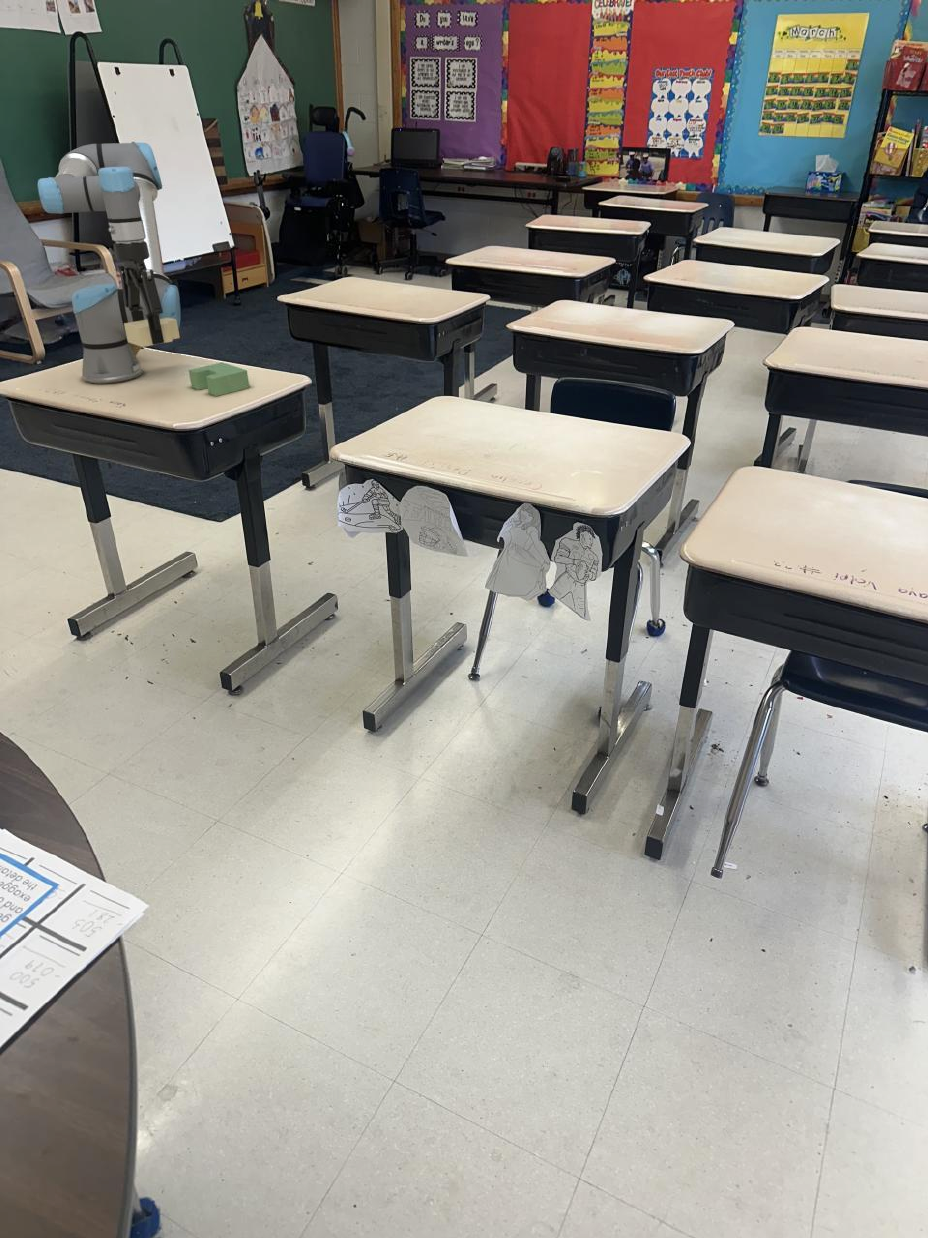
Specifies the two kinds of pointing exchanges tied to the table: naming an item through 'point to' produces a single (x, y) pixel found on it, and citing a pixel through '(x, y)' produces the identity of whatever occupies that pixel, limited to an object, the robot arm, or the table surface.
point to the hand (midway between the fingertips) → (150, 340)
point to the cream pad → (141, 332)
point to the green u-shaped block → (219, 378)
